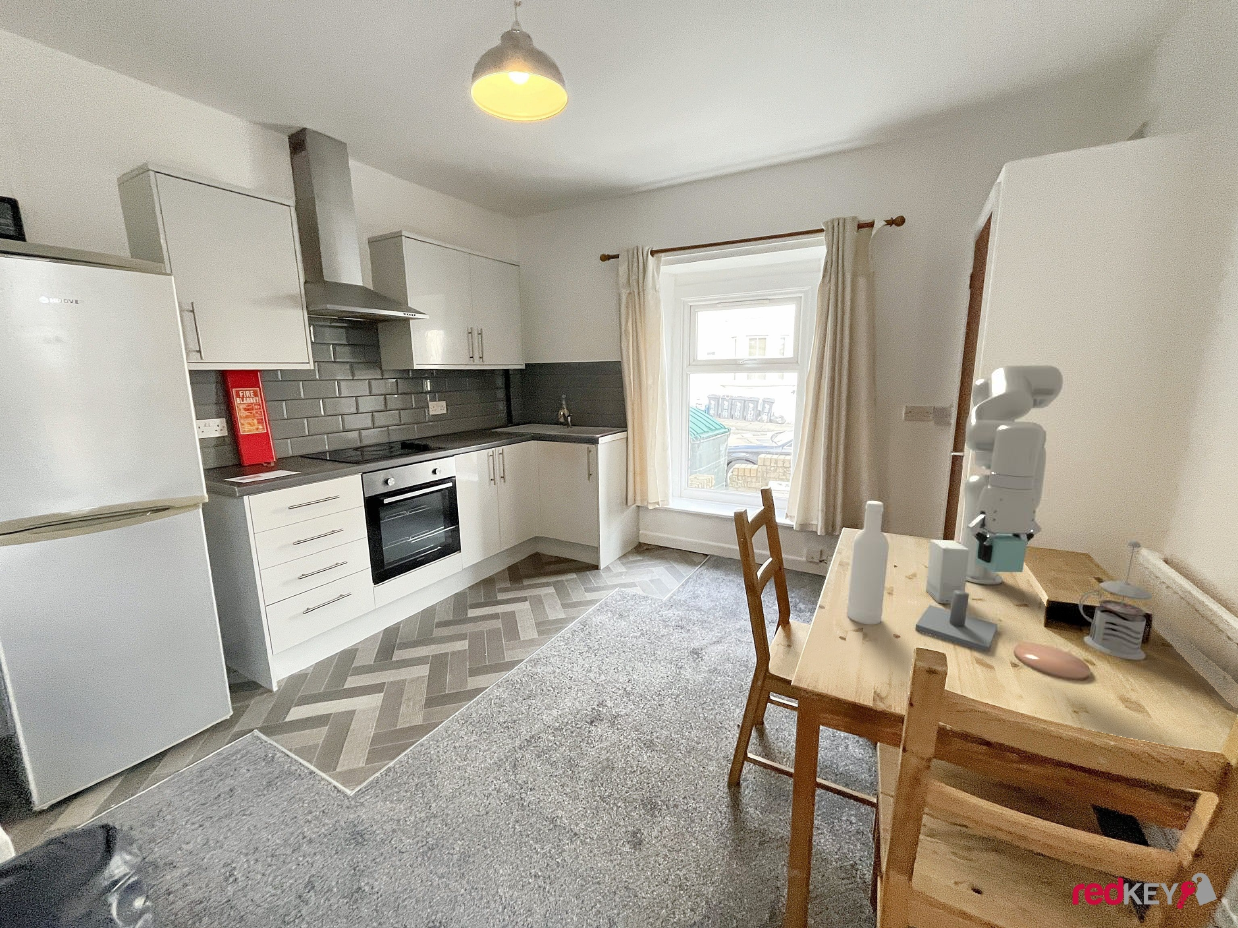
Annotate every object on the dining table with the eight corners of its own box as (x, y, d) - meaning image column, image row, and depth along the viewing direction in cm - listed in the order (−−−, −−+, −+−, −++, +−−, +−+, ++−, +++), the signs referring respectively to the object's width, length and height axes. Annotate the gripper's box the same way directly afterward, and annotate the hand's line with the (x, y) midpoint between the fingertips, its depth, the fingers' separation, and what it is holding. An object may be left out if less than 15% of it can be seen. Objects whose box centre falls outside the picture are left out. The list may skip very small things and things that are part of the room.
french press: (1153, 664, 100) (1178, 552, 96) (1079, 648, 106) (1099, 542, 102) (1136, 643, 109) (1158, 538, 104) (1068, 629, 115) (1086, 530, 110)
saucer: (1016, 640, 109) (1017, 636, 109) (1089, 662, 101) (1090, 658, 101) (1010, 662, 101) (1011, 658, 101) (1089, 688, 93) (1090, 683, 93)
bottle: (880, 613, 122) (892, 500, 117) (882, 627, 115) (895, 508, 110) (845, 607, 125) (856, 497, 120) (846, 620, 118) (857, 504, 113)
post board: (929, 610, 124) (933, 575, 122) (996, 629, 114) (1002, 592, 113) (915, 630, 114) (919, 593, 112) (987, 653, 104) (994, 613, 103)
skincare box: (963, 605, 126) (971, 550, 124) (936, 603, 128) (943, 548, 125) (949, 592, 134) (956, 539, 132) (923, 590, 136) (929, 538, 133)
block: (1000, 561, 109) (1005, 532, 108) (1022, 572, 103) (1027, 541, 102) (974, 561, 109) (978, 532, 108) (994, 571, 103) (999, 541, 102)
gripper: (1036, 478, 106) (1024, 554, 110) (958, 478, 107) (948, 554, 110) (1067, 485, 99) (1052, 567, 102) (983, 485, 99) (971, 566, 102)
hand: (999, 559), depth 106 cm, fingers closed on block, 5 cm apart
